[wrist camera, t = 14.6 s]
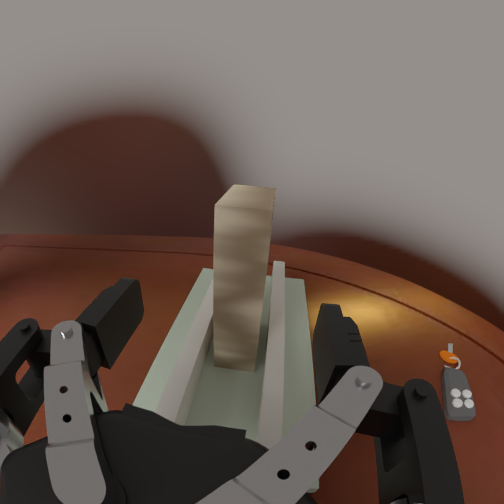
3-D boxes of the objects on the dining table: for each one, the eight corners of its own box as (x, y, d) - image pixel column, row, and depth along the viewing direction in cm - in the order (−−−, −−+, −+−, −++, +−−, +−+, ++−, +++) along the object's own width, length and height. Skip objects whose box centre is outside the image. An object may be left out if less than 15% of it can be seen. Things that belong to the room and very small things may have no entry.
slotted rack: (314, 492, 11) (332, 475, 9) (115, 457, 11) (96, 433, 10) (302, 286, 33) (307, 260, 31) (203, 275, 33) (203, 249, 32)
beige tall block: (214, 366, 19) (214, 204, 14) (227, 318, 25) (233, 184, 20) (254, 372, 19) (273, 210, 14) (260, 322, 24) (275, 188, 19)
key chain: (472, 424, 13) (482, 414, 13) (441, 423, 14) (451, 413, 14) (451, 336, 24) (456, 326, 24) (426, 331, 26) (431, 321, 25)
